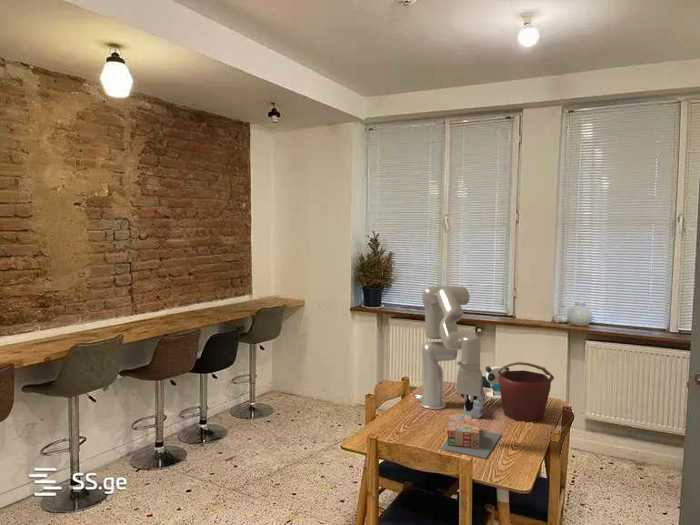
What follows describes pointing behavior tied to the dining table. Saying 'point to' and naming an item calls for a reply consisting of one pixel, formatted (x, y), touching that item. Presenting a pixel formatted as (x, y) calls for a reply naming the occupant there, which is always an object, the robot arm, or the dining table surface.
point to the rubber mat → (485, 445)
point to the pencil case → (476, 407)
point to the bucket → (524, 393)
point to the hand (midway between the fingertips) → (469, 410)
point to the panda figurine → (494, 380)
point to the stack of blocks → (463, 431)
